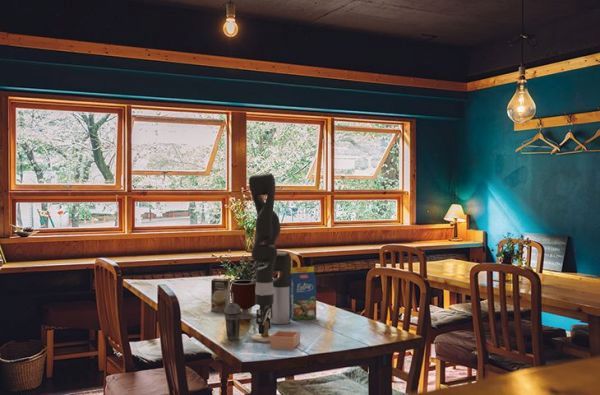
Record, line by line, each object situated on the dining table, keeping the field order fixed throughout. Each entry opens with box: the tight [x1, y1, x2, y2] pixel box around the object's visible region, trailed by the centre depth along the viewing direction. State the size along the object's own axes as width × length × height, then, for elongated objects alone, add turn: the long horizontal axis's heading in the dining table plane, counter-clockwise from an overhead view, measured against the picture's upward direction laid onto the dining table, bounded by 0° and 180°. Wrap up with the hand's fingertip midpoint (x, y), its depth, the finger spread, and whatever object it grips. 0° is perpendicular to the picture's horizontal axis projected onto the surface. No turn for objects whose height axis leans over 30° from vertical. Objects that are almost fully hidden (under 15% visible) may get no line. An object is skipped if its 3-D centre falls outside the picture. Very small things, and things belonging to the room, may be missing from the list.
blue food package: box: [290, 266, 317, 321], centre depth 290 cm, size 6×12×25 cm, turn 111°
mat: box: [243, 335, 270, 345], centre depth 249 cm, size 14×14×1 cm
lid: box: [251, 321, 274, 342], centre depth 248 cm, size 11×11×7 cm
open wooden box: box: [269, 330, 301, 350], centre depth 239 cm, size 10×10×5 cm
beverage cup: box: [223, 293, 242, 341], centre depth 249 cm, size 7×7×20 cm
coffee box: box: [210, 278, 231, 312], centre depth 309 cm, size 9×6×16 cm
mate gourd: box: [230, 278, 257, 320], centre depth 294 cm, size 16×14×20 cm
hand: (264, 331), depth 248 cm, fingers open, 8 cm apart
